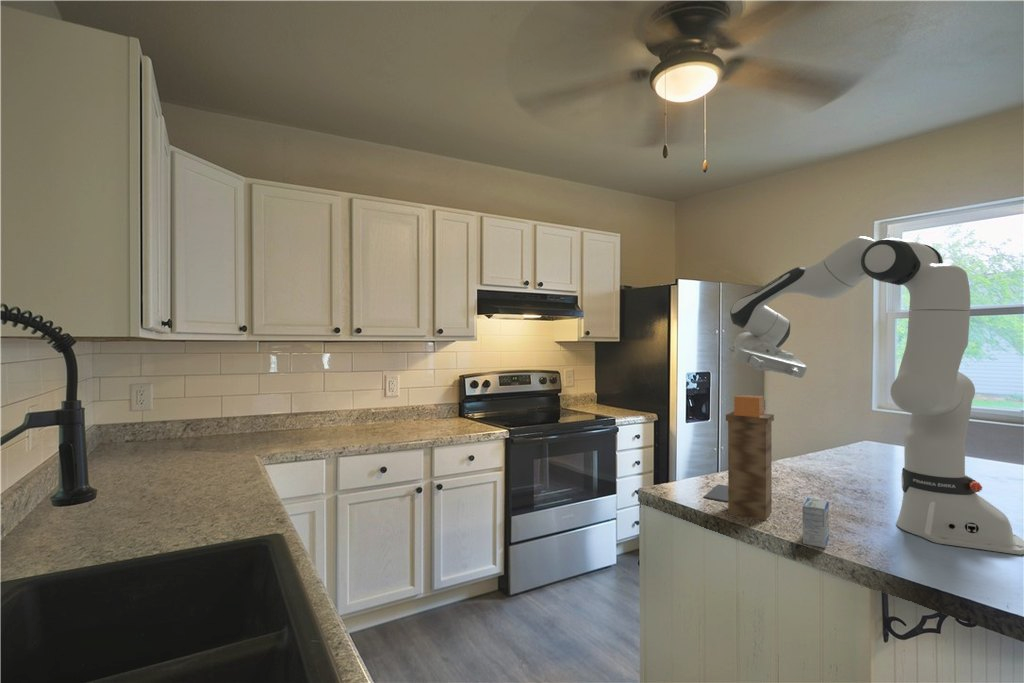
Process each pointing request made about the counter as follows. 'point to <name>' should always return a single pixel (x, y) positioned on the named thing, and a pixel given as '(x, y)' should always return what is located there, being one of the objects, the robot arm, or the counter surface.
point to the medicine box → (815, 522)
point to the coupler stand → (750, 465)
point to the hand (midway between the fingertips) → (778, 369)
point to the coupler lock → (749, 405)
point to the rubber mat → (718, 493)
